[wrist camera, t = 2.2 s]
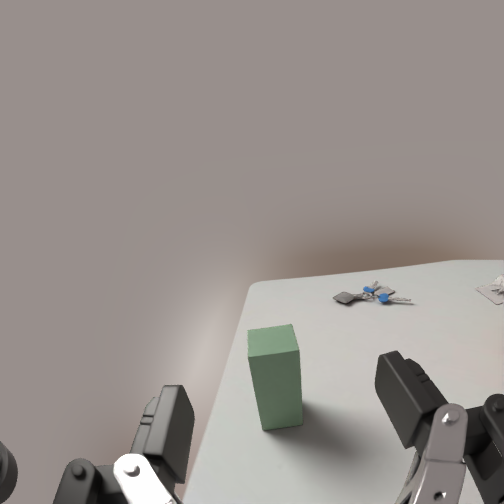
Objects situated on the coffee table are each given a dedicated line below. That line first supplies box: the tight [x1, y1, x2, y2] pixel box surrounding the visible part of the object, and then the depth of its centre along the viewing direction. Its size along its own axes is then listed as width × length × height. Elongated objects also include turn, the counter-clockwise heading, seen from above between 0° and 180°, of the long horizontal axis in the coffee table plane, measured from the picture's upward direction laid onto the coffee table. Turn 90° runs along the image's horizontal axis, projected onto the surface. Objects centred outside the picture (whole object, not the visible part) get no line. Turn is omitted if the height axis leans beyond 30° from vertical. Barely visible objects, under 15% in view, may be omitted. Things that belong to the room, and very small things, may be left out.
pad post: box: [247, 324, 303, 430], centre depth 24 cm, size 4×4×10 cm
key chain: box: [333, 281, 411, 303], centre depth 46 cm, size 14×8×1 cm, turn 70°
